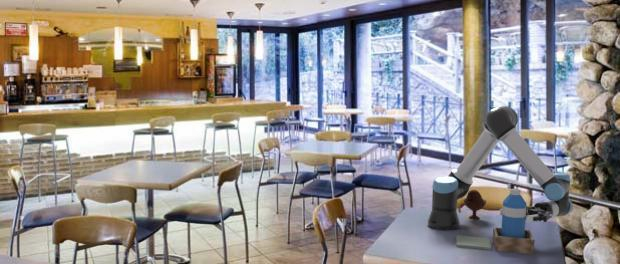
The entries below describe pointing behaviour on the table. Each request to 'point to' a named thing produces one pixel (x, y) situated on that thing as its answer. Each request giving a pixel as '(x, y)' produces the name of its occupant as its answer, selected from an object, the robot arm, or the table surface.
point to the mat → (473, 242)
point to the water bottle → (513, 215)
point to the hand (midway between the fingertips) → (513, 215)
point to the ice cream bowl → (474, 203)
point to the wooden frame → (513, 242)
